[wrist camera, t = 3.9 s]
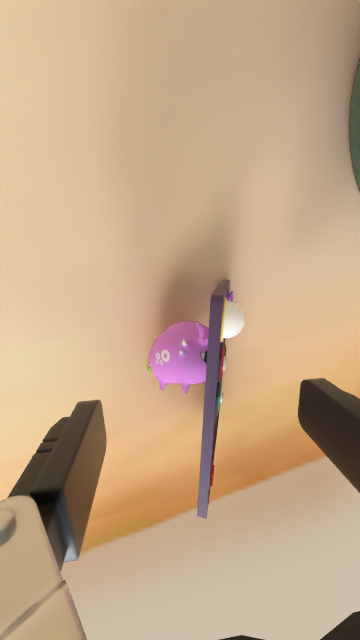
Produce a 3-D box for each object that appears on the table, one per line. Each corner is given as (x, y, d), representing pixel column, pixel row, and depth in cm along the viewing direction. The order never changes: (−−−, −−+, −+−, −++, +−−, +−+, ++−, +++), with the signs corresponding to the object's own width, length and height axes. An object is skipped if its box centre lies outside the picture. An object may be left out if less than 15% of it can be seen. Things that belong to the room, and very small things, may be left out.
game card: (225, 526, 9) (249, 297, 7) (104, 494, 10) (91, 287, 8) (230, 418, 15) (243, 280, 13) (155, 405, 17) (155, 276, 14)
